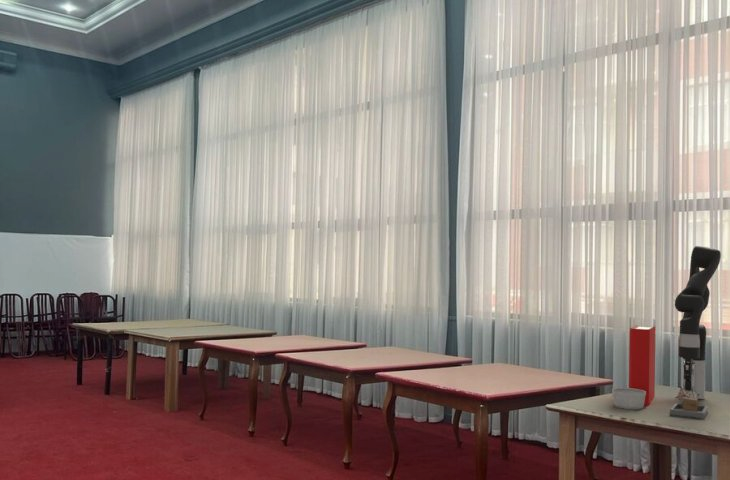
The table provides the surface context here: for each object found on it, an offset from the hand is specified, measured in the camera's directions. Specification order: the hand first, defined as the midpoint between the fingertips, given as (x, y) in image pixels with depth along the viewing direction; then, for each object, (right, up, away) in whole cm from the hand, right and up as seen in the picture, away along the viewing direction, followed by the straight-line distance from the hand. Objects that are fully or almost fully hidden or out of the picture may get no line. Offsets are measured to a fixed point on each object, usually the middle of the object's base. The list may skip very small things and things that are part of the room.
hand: (688, 389), depth 280 cm
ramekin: (-18, -11, +14) cm, 26 cm away
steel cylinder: (0, 0, 0) cm, 0 cm away
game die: (+9, -12, +22) cm, 27 cm away
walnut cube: (+3, -10, +6) cm, 12 cm away
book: (-6, -12, +31) cm, 34 cm away
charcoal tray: (+1, -10, +3) cm, 11 cm away
